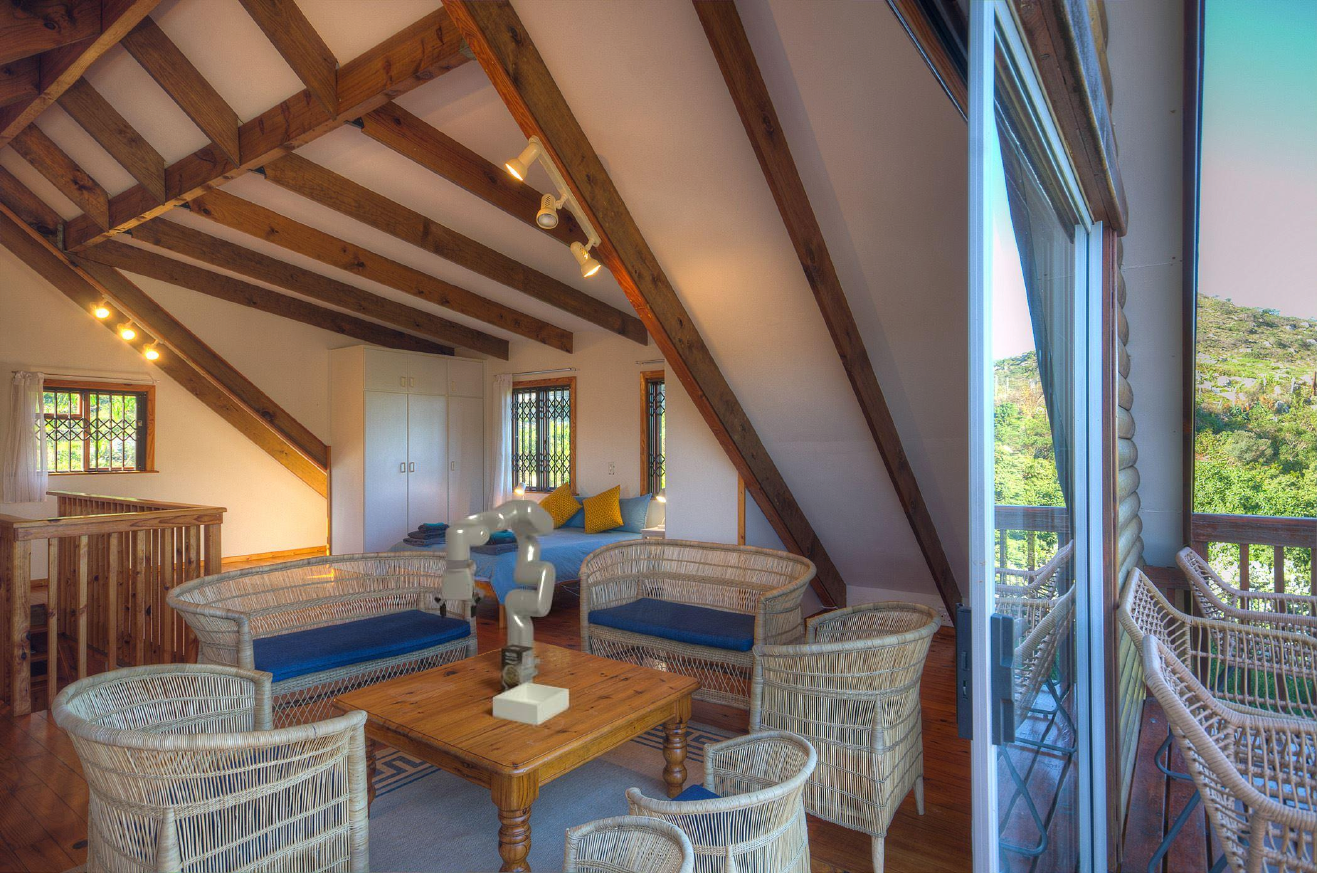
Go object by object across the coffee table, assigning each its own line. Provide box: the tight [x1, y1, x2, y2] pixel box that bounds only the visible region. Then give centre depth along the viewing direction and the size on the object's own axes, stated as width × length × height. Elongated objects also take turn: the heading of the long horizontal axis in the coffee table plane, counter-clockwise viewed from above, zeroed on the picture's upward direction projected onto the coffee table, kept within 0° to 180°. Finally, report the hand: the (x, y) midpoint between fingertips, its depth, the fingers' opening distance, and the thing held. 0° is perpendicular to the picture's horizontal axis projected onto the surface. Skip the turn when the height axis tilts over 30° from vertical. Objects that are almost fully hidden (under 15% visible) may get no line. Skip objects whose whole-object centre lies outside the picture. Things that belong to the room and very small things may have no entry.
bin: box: [492, 682, 570, 726], centre depth 234 cm, size 17×17×6 cm
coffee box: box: [500, 644, 534, 694], centre depth 252 cm, size 9×6×16 cm
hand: (458, 617), depth 240 cm, fingers open, 9 cm apart
